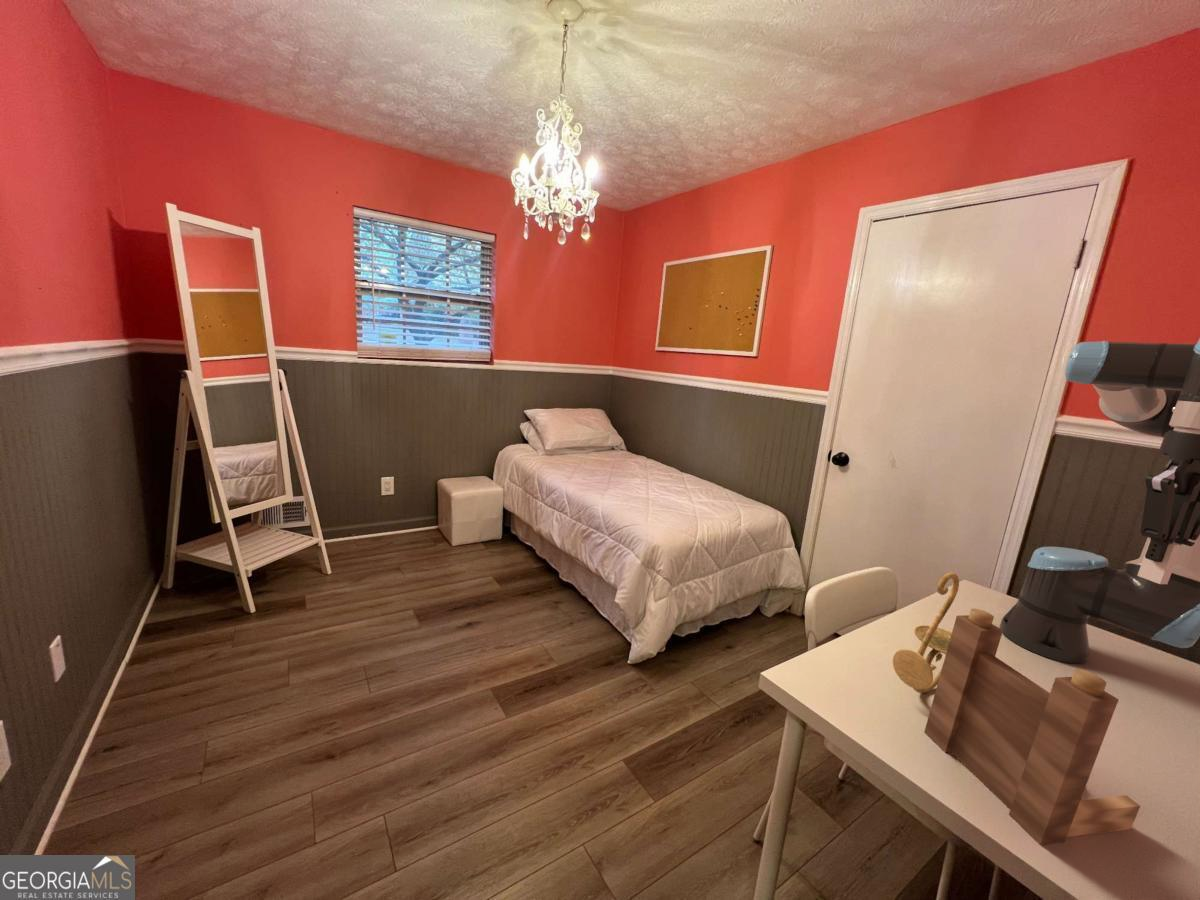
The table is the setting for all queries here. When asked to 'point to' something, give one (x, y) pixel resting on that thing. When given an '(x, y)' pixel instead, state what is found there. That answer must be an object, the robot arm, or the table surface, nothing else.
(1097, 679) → the headboard
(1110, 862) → the table surface
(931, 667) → the wall sconce
